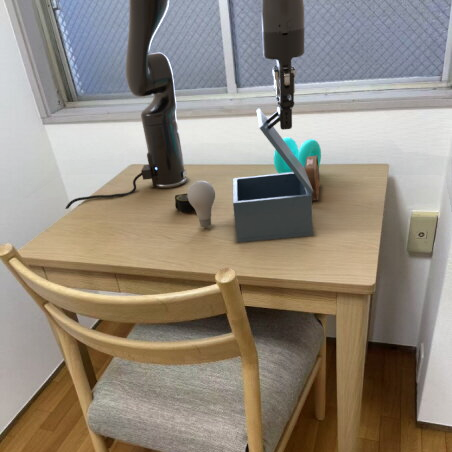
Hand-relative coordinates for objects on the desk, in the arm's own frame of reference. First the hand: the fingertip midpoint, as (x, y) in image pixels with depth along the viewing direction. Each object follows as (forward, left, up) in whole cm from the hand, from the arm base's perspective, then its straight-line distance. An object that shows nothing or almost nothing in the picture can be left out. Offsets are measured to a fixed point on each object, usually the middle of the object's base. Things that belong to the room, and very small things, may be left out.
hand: (284, 124), depth 94 cm
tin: (+7, +15, -21) cm, 27 cm away
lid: (-1, 0, -5) cm, 5 cm away
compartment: (-4, 0, -21) cm, 22 cm away
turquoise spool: (+5, +29, -21) cm, 37 cm away
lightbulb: (-19, +1, -21) cm, 29 cm away
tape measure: (-24, +13, -21) cm, 35 cm away
